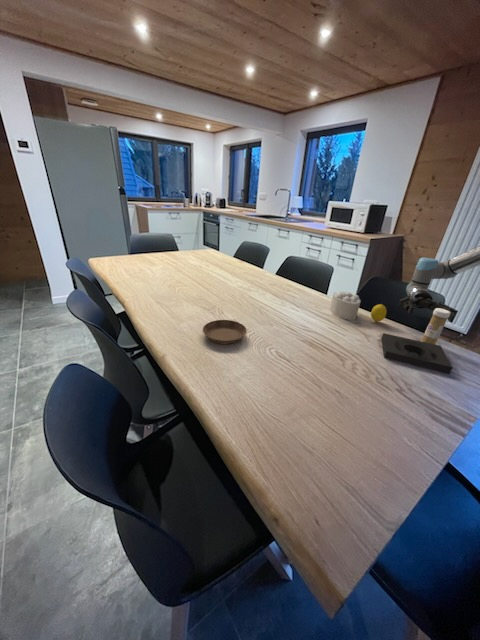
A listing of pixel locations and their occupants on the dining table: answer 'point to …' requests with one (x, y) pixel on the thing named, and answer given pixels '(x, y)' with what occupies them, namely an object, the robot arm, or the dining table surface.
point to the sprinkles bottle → (435, 326)
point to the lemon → (378, 312)
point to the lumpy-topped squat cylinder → (345, 305)
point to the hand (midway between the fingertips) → (431, 315)
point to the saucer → (224, 331)
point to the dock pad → (427, 352)
